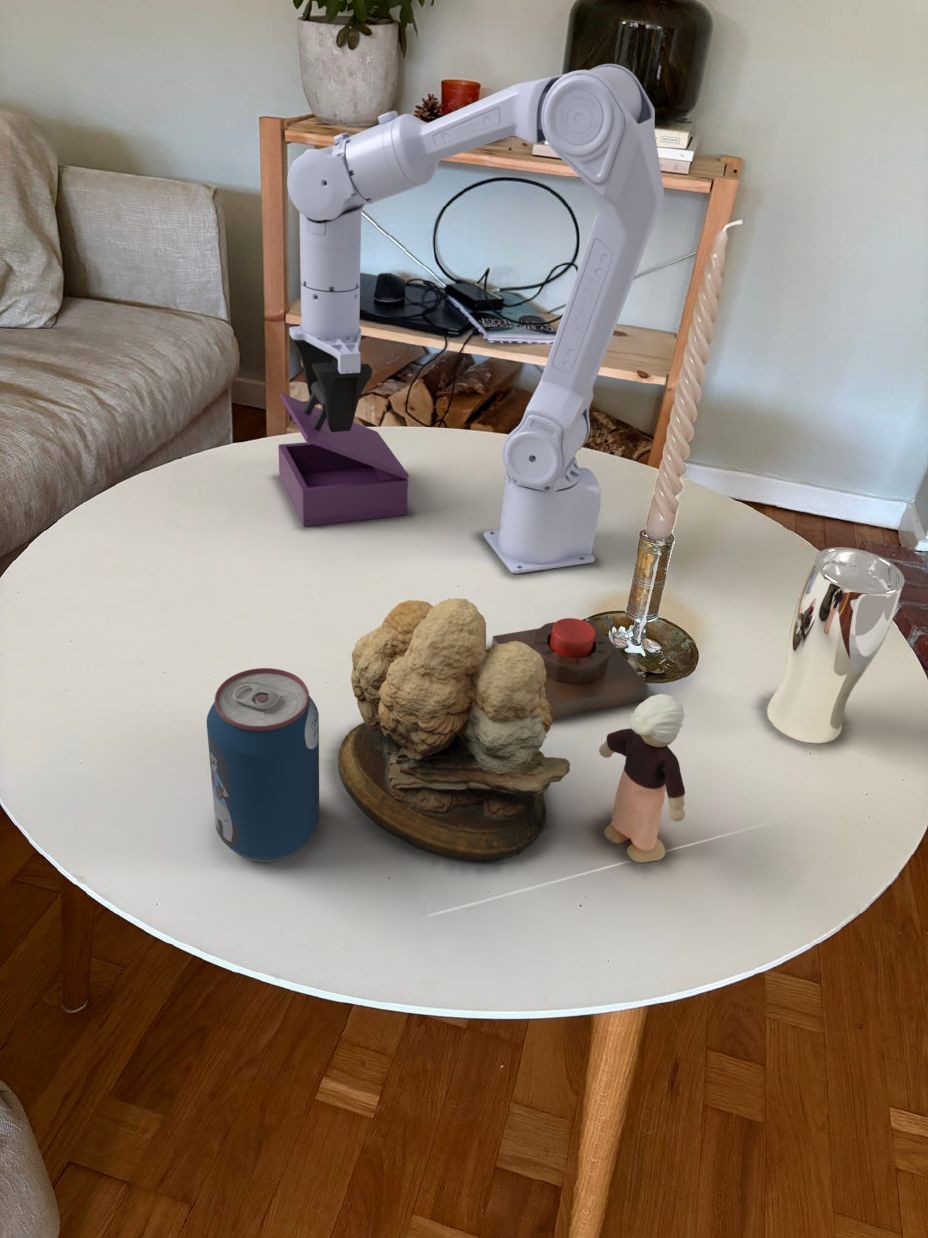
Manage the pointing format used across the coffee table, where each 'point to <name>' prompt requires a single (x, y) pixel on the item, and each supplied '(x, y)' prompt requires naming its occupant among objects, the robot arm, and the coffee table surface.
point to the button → (572, 638)
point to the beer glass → (833, 640)
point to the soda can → (264, 763)
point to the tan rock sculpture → (449, 733)
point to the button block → (582, 674)
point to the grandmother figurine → (646, 776)
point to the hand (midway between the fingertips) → (330, 415)
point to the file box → (337, 486)
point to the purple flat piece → (341, 434)
